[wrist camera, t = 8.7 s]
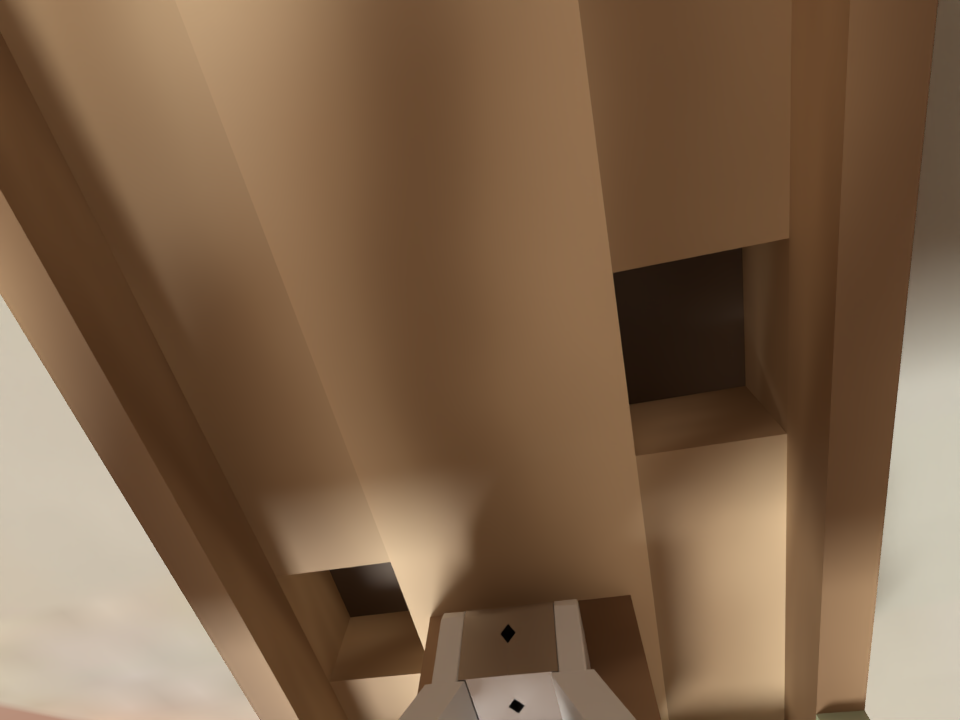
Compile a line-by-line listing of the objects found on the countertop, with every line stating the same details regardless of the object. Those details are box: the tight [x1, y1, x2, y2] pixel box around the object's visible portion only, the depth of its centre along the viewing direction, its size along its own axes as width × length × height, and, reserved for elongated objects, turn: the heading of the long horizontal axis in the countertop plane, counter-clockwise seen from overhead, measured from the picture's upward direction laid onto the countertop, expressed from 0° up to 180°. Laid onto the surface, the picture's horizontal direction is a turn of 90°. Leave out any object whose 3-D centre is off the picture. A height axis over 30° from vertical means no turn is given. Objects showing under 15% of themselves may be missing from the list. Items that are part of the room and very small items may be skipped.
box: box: [0, 0, 938, 720], centre depth 11 cm, size 14×22×5 cm, turn 13°
